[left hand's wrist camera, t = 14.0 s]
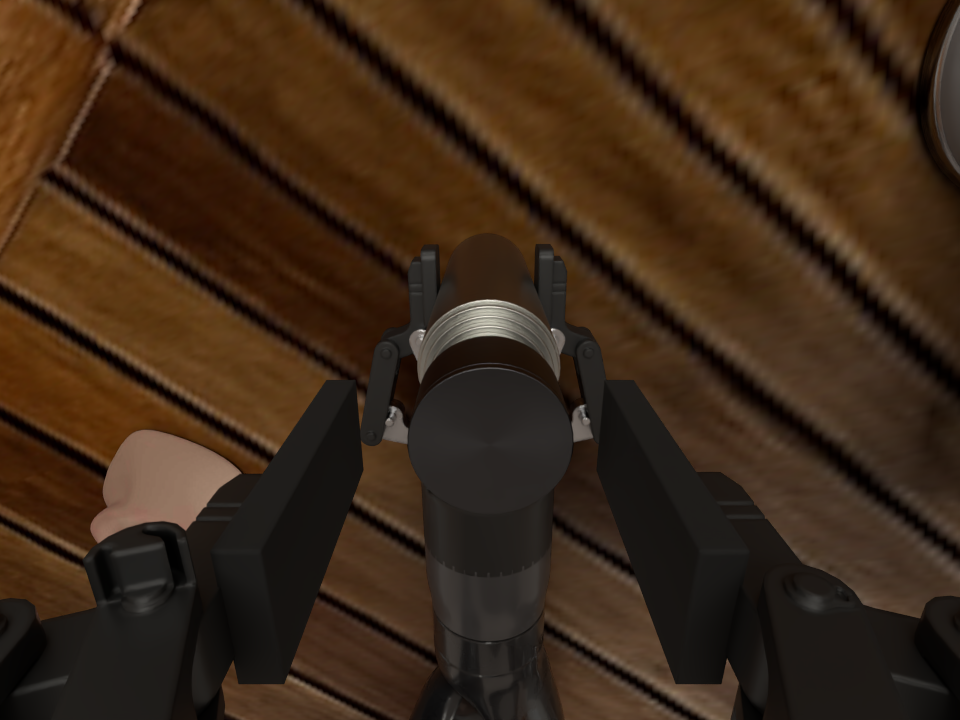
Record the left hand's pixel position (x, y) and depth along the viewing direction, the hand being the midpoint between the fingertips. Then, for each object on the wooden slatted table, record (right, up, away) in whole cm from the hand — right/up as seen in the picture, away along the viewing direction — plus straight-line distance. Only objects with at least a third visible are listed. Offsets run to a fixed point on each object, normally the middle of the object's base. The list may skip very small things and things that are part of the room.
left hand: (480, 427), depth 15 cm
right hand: (0, +7, +12) cm, 14 cm away
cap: (0, 0, -1) cm, 1 cm away
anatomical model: (-22, -9, +25) cm, 35 cm away
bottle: (0, +7, +19) cm, 20 cm away
